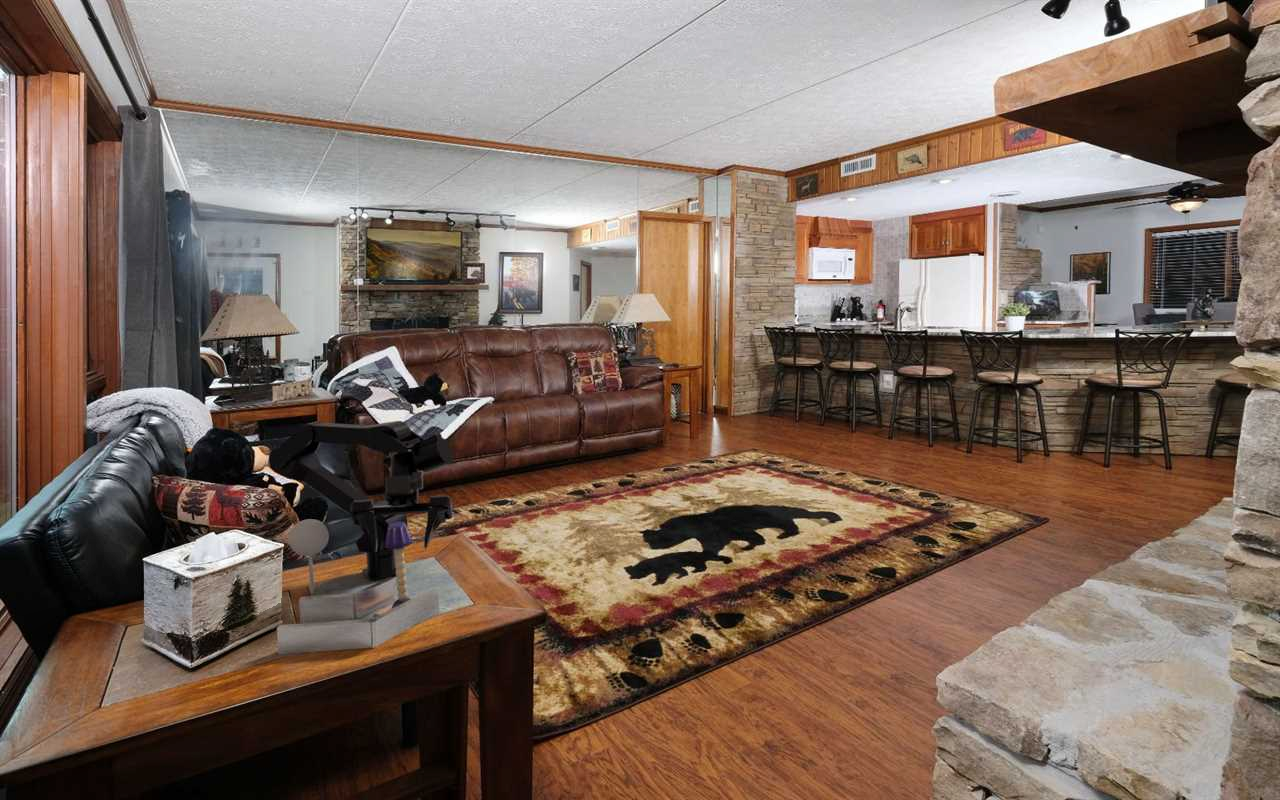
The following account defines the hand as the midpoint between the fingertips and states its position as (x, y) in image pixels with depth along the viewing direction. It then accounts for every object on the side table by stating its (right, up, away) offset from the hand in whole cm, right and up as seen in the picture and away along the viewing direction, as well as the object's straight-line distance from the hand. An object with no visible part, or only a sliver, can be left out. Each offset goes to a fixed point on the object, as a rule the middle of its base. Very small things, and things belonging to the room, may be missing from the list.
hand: (400, 549), depth 131 cm
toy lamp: (+1, -11, -2) cm, 11 cm away
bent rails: (-4, -12, -9) cm, 15 cm away
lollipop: (-20, -10, +6) cm, 23 cm away
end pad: (+1, -11, -3) cm, 11 cm away
